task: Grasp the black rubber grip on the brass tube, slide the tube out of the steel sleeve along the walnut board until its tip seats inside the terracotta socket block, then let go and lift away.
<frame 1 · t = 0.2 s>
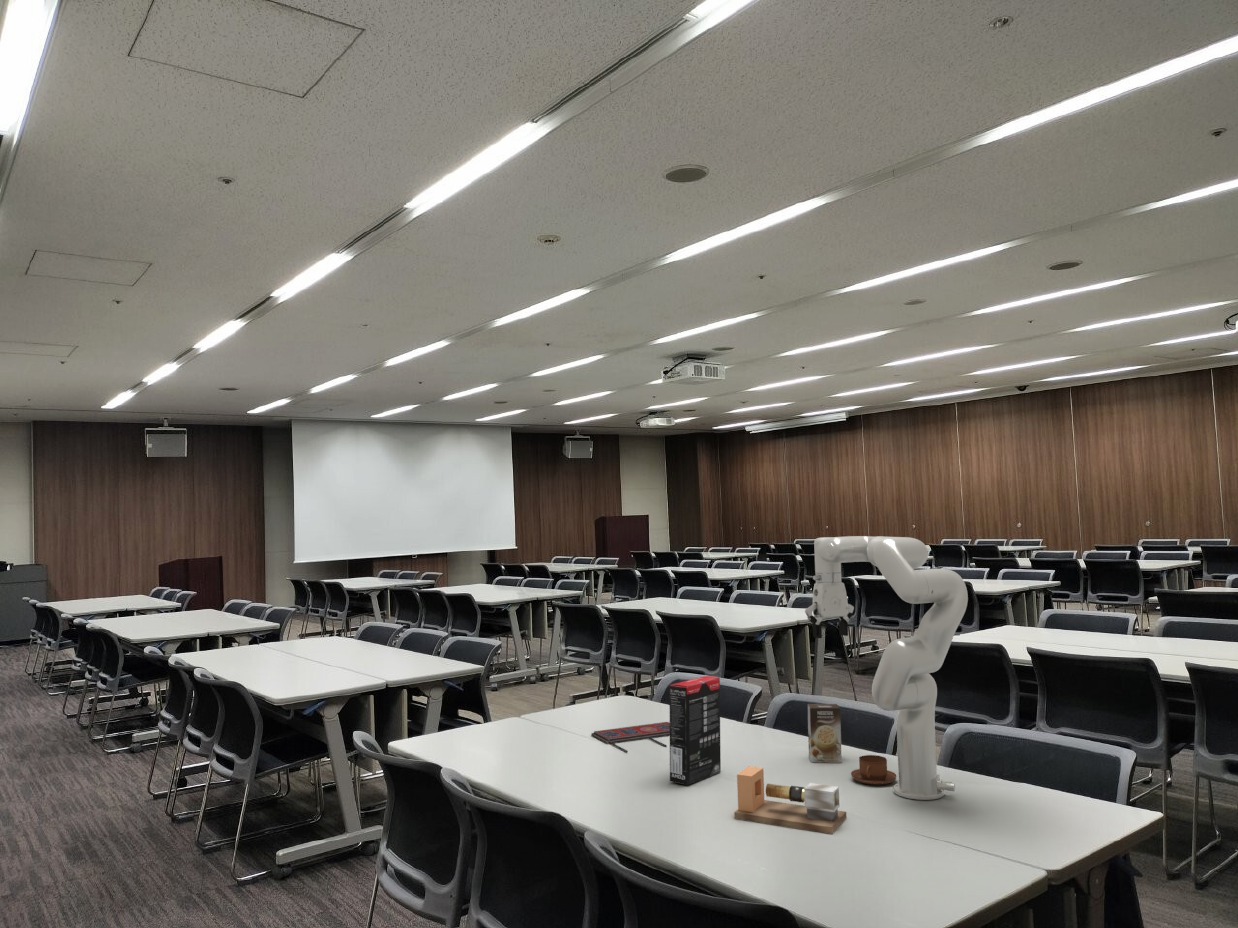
hand: (830, 636, 258), 37 cm above the table, tool pointing down, fingers open, 9 cm apart
brass tube: (800, 794, 209), point 6 cm above the table, slide at 0.0 cm
rig: (808, 820, 207), on the table
sign: (647, 740, 291), on the table
socket: (753, 812, 214), resting on rig
graphics card box: (697, 778, 245), on the table
cup and saucer: (873, 782, 238), on the table
coffee box: (825, 760, 260), on the table
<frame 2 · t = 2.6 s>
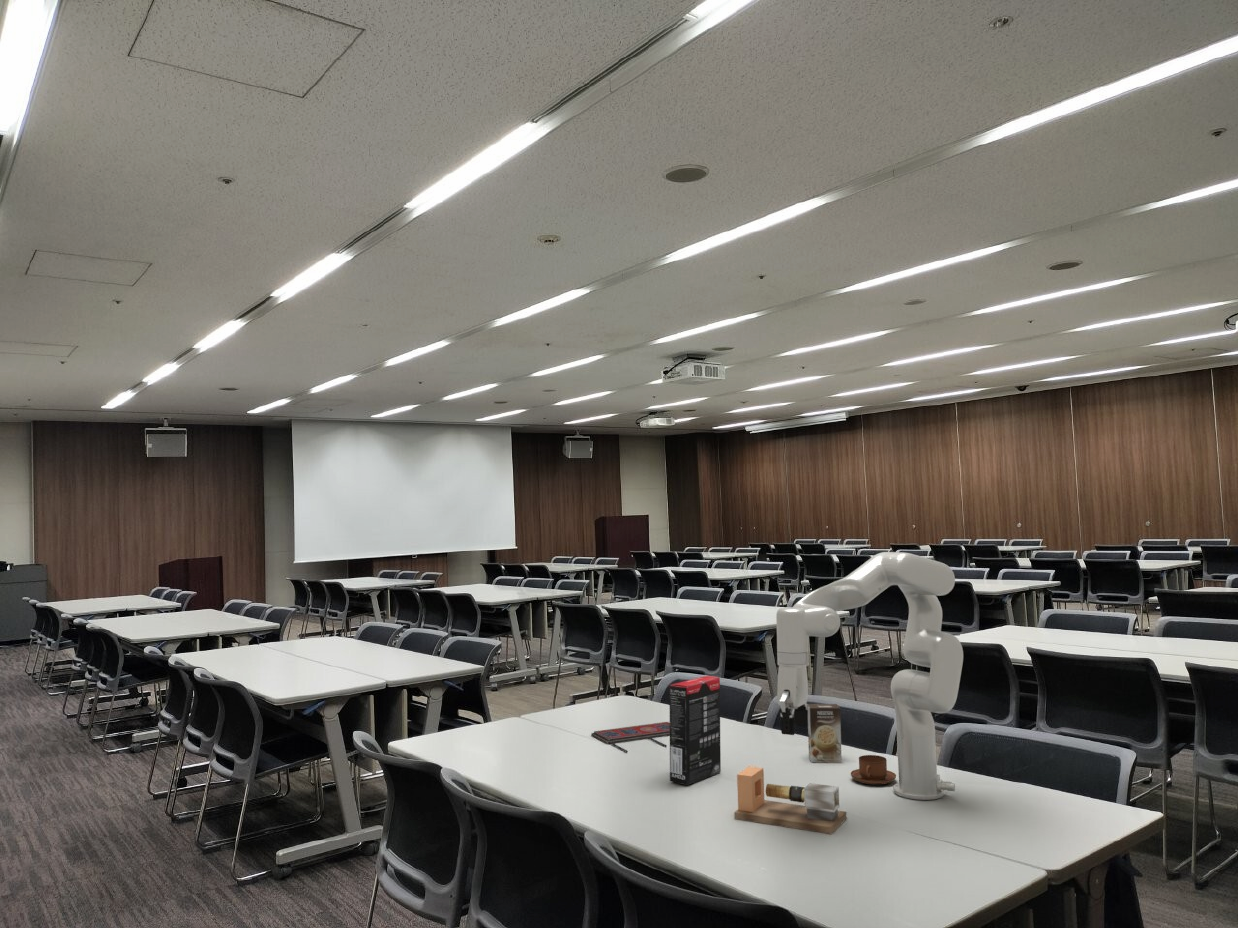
hand: (794, 729, 211), 21 cm above the table, tool pointing down, fingers open, 9 cm apart
nothing on the table moved.
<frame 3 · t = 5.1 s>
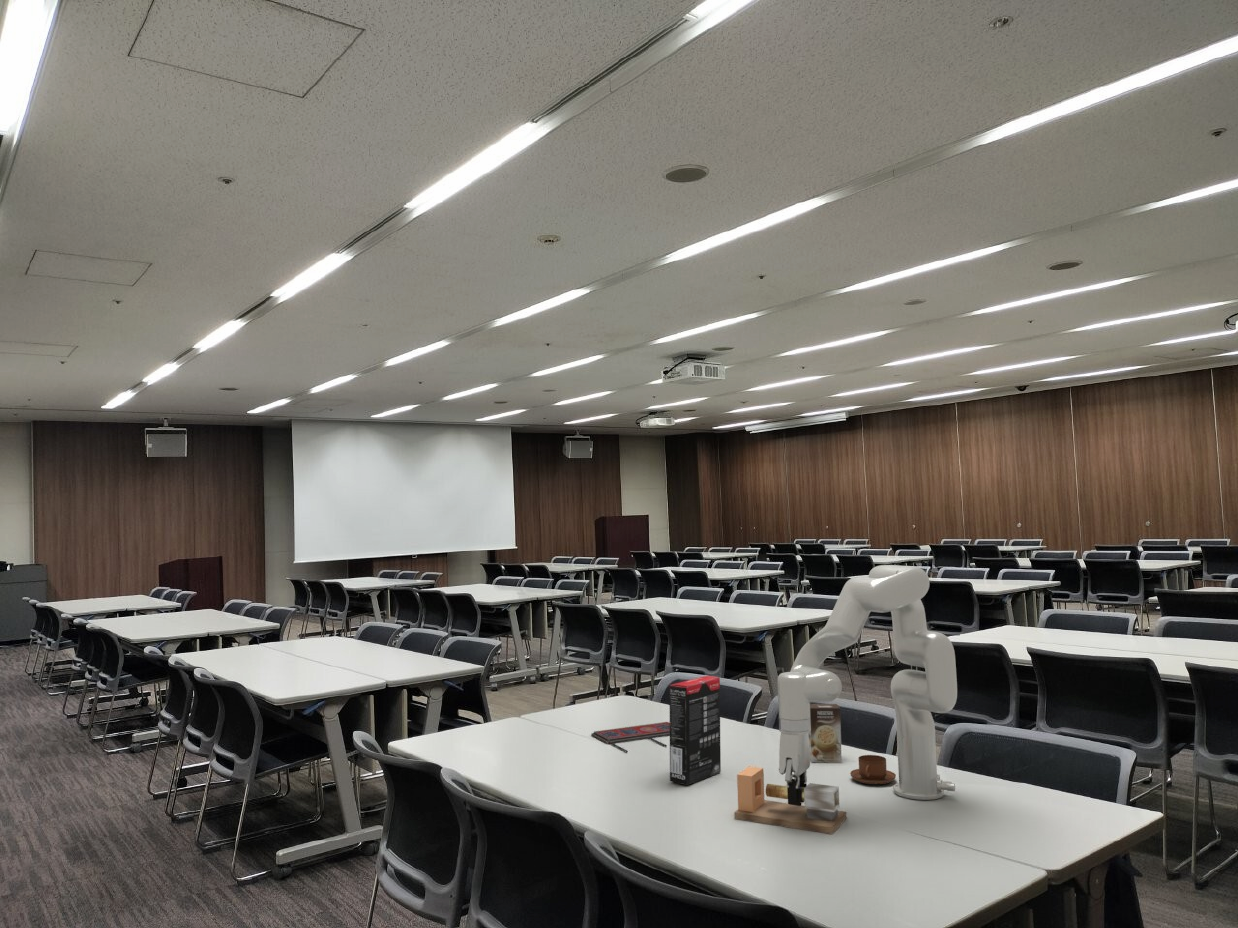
hand: (797, 801, 209), 4 cm above the table, tool pointing down, fingers closed on brass tube, 3 cm apart
brass tube: (800, 794, 209), point 6 cm above the table, slide at 0.0 cm, touching gripper
everything else where it was.
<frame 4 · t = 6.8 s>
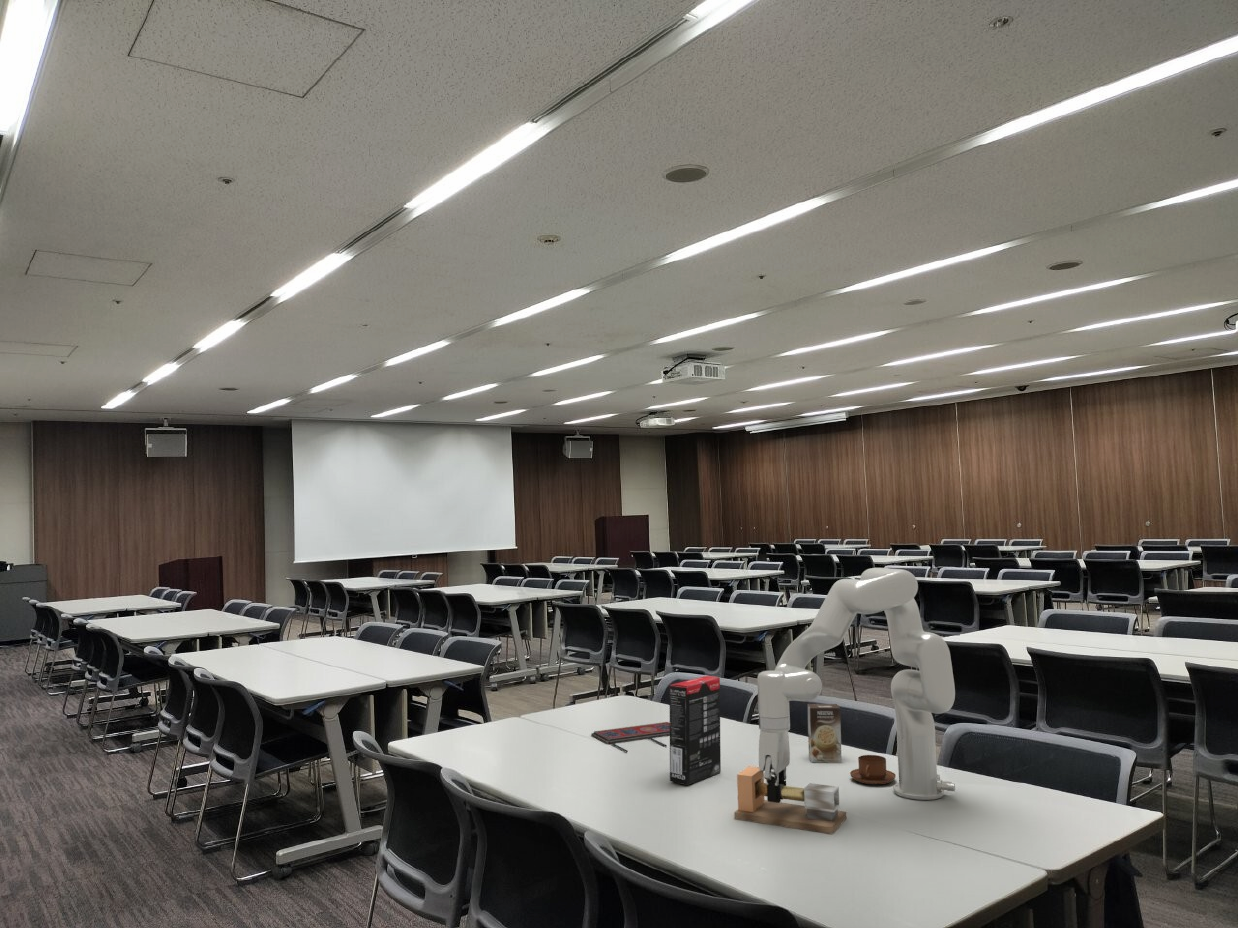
hand: (777, 798, 211), 4 cm above the table, tool pointing down, fingers closed on brass tube, 3 cm apart
brass tube: (779, 791, 211), point 6 cm above the table, slide at 5.2 cm, touching gripper
everything else where it was.
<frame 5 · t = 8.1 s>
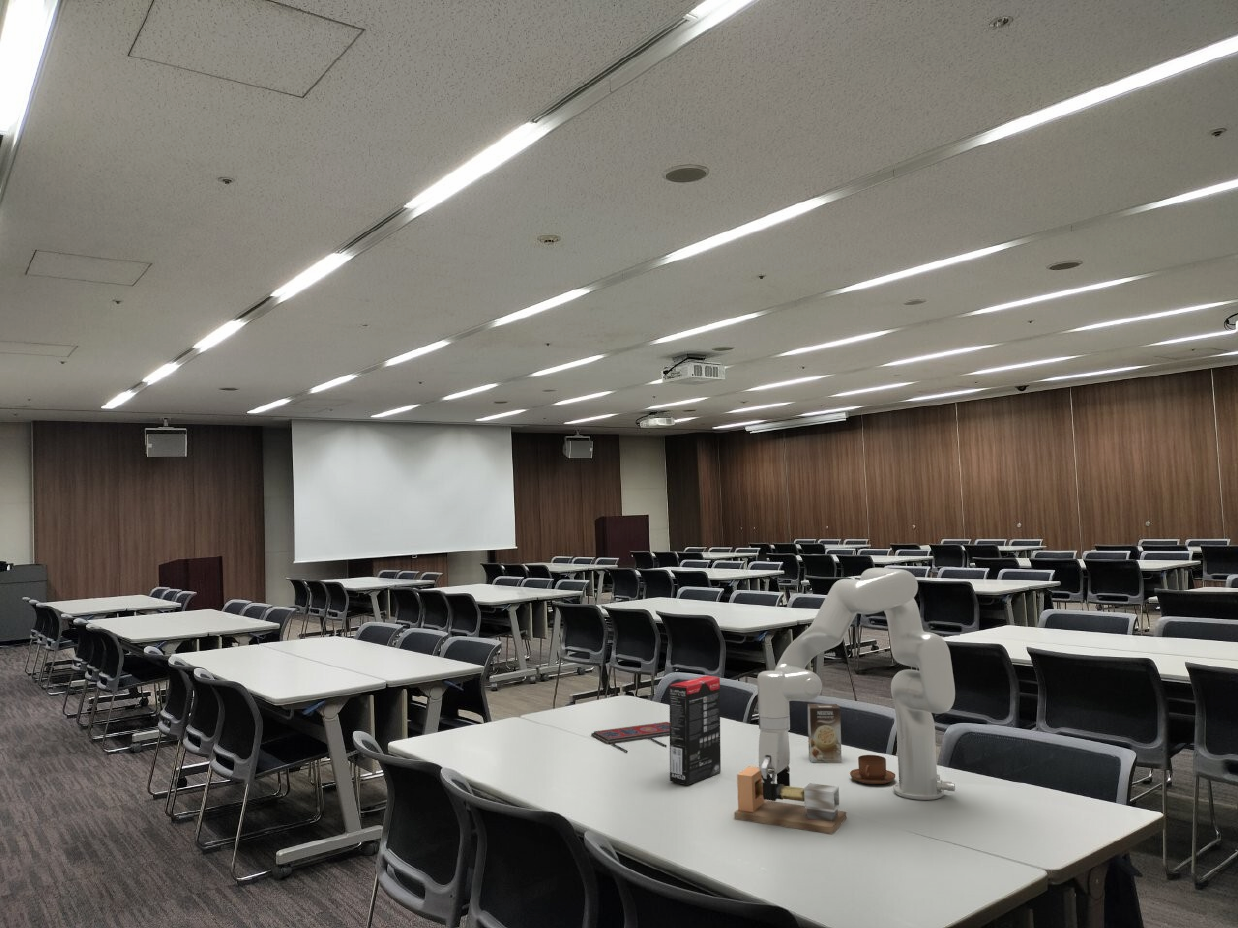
hand: (776, 794, 211), 5 cm above the table, tool pointing down, fingers open, 9 cm apart
brass tube: (779, 791, 211), point 6 cm above the table, slide at 5.2 cm
everything else where it was.
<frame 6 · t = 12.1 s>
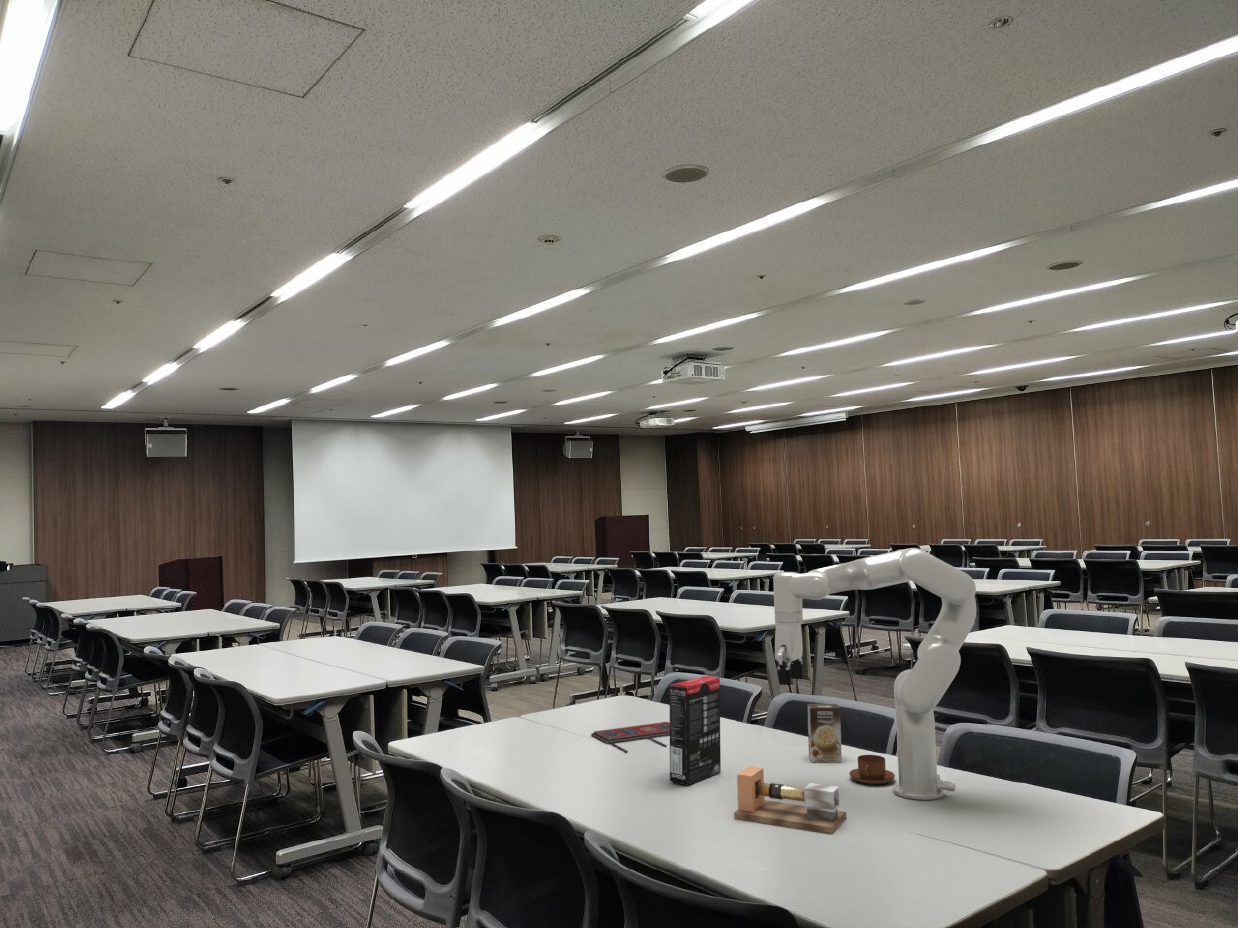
hand: (791, 681, 235), 28 cm above the table, tool pointing down, fingers open, 9 cm apart
nothing on the table moved.
at the end: brass tube slide at 5.2 cm; graphics card box moved 0.2 cm from its start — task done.
